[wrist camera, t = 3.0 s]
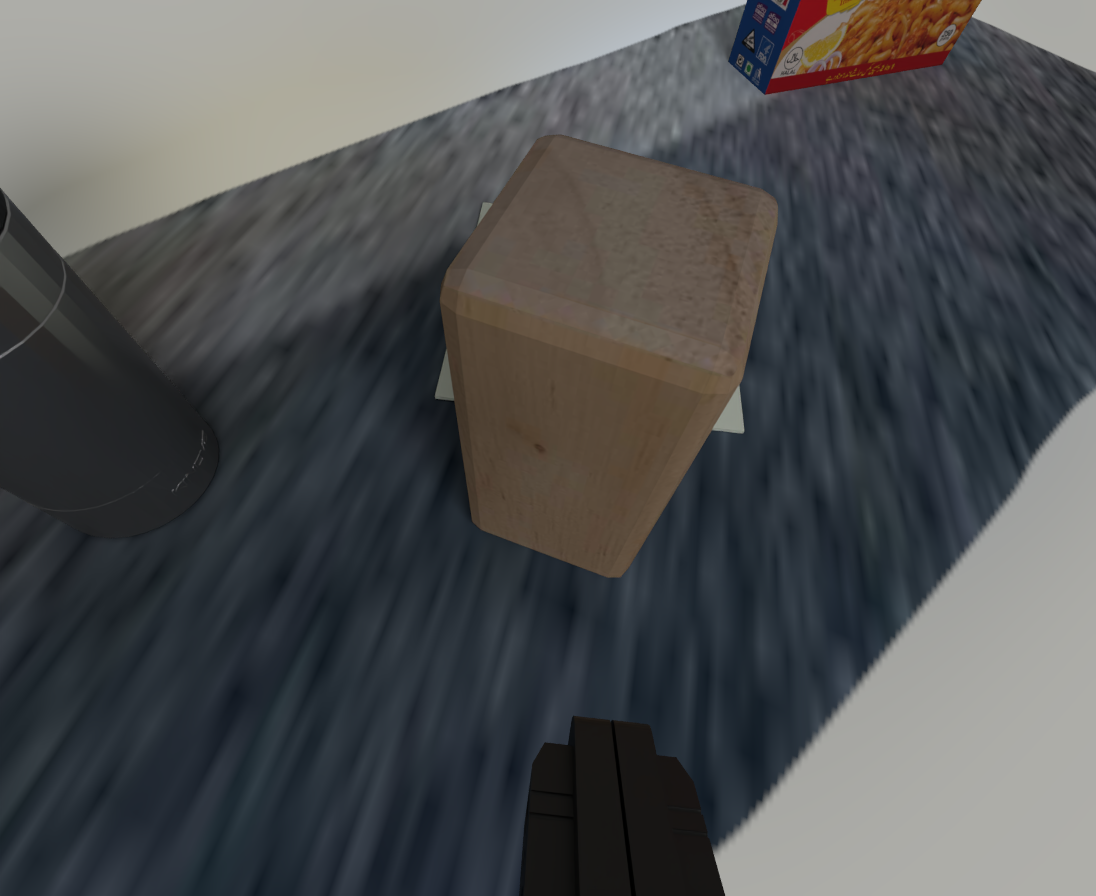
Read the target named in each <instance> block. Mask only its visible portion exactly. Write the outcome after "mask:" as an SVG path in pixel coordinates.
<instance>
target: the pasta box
mask: <svg viewBox="0 0 1096 896" xmlns="http://www.w3.org/2000/svg"><path fill="white" fill-rule="evenodd" d="M980 2H981V0H747V3H746V6H745V10H744V13H743V16H742V19H741V22H740V26H739V29H738V32H737V35H736V39H735V42H734V45H733V48H732V51H731V55H730V58H729V61H728V62H729V63H730V64H731V65H733V66H734V67H735V68H736V69H737V70H738V71H739V72H740V73H741V74H742V75H744V76H745V77H746V78H747V79H748V80H749V81H750V82H751V83H752V84H753V85H755V86H756V87H757V88H758V89H759V90H760V91H761V92H762V93H763V94H765V95H766V94H772V93H778V92H784V91H789V90H795V89H801V88H807V87H813V86H819V85H825V84H831V83H837V82H842V81H848V80H854V79H860V78H866V77H872V76H878V75H884V74H889V73H895V72H901V71H907V70H913V69H919V68H925V67H931V66H937V65H942V64H943V62H944V60H945V59H946V57H947V55H948V54H949V52H950V51H951V49H952V47H953V46H954V44H955V43H956V41H957V39H958V38H959V36H960V34H961V33H962V31H963V30H964V28H965V26H966V25H967V23H968V21H969V20H970V18H971V17H972V15H973V13H974V12H975V10H976V8H977V7H978V5H979V4H980Z"/></svg>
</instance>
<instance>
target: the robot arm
mask: <svg viewBox="0 0 1096 896" xmlns="http://www.w3.org/2000/svg"><path fill="white" fill-rule="evenodd" d="M218 456H219V448H218V443H217V439H216V437H215V435H214V433H213V431H212V429H211V428H210V427H209V426H208V424H207V423H206V422H205V421H204V420H203V419H202V418H201V416H200V415H199V414H198V413H197V412H196V411H195V410H194V408H193V407H192V406H191V405H190V404H189V403H188V402H187V400H186V399H185V398H184V397H183V396H182V395H181V393H180V392H179V391H178V390H177V388H176V387H175V386H174V385H173V384H172V383H171V382H170V381H169V379H168V378H167V377H166V376H165V375H164V374H163V373H162V371H161V370H160V369H159V368H158V367H157V366H156V365H155V363H154V362H153V361H152V360H151V359H150V358H149V357H148V355H147V354H146V353H145V352H144V351H143V350H142V349H141V347H140V346H139V345H138V344H137V343H136V342H135V341H134V339H133V338H132V337H131V336H130V335H129V334H128V333H127V331H126V330H125V329H124V328H123V327H122V326H121V325H120V323H119V322H118V321H117V320H116V319H115V318H114V317H113V316H112V314H111V313H110V312H109V311H108V310H107V309H106V308H105V306H104V305H103V304H102V303H101V302H100V301H99V300H98V298H97V297H96V296H95V295H94V294H93V293H92V292H91V290H90V289H89V288H88V287H87V286H86V285H85V284H84V282H83V281H82V280H81V279H80V278H79V277H78V276H77V274H76V273H75V272H74V271H73V270H72V269H71V268H70V266H69V265H68V264H67V263H66V262H65V261H64V260H63V258H62V257H61V256H60V255H59V254H58V253H57V252H56V251H55V250H54V249H53V248H52V246H51V245H50V244H49V243H48V242H47V241H46V240H45V238H44V237H43V236H42V235H41V234H40V233H39V232H38V231H37V229H36V228H35V227H34V226H33V225H32V224H31V222H30V221H29V220H28V219H27V218H26V217H25V216H24V215H23V213H22V212H21V211H20V210H19V209H18V208H17V207H16V206H15V204H14V203H13V202H12V201H11V200H10V199H9V198H8V196H7V195H6V194H5V193H4V192H3V191H2V189H1V188H0V487H1V488H3V489H5V490H7V491H8V492H10V493H12V494H14V495H16V496H17V497H19V498H21V499H23V500H24V501H26V502H28V503H29V504H31V505H33V506H35V507H36V508H38V509H40V510H42V511H44V512H46V513H47V514H49V515H51V516H53V517H55V518H56V519H58V520H60V521H62V522H64V523H66V524H67V525H69V526H71V527H73V528H75V529H77V530H78V531H81V532H83V533H86V534H89V535H92V536H96V537H104V538H120V537H130V536H134V535H138V534H142V533H146V532H148V531H151V530H153V529H155V528H158V527H160V526H163V525H165V524H166V523H168V522H170V521H171V520H173V519H175V518H176V517H178V516H180V515H181V514H182V513H183V512H184V511H186V510H187V509H188V508H189V507H190V506H192V505H193V504H194V503H195V502H196V501H197V499H198V498H199V497H200V496H201V495H202V494H203V493H204V491H205V490H206V488H207V487H208V485H209V483H210V482H211V480H212V478H213V476H214V473H215V470H216V467H217V465H218ZM519 896H725V893H724V890H723V886H722V883H721V879H720V875H719V872H718V868H717V865H716V861H715V857H714V854H713V850H712V847H711V843H710V839H709V838H708V837H707V829H706V825H705V822H704V818H703V815H701V807H700V804H699V800H698V796H697V793H696V789H695V786H694V782H693V781H692V779H691V778H690V776H689V775H688V773H687V772H686V771H685V769H684V768H683V766H682V765H681V764H680V762H679V761H678V759H677V758H676V757H668V756H659V755H657V754H656V750H655V745H654V740H653V736H652V731H651V728H650V726H649V725H648V724H640V723H632V722H623V721H615V720H612V721H611V722H610V720H604V719H596V718H587V717H578V716H573V717H572V722H571V728H570V734H569V741H568V745H562V744H554V743H544V745H543V746H542V748H541V750H540V752H539V753H538V755H537V757H536V758H535V760H534V762H533V764H532V771H531V779H530V787H529V794H528V802H527V809H526V817H525V825H524V837H523V850H522V864H521V877H520V891H519Z"/></svg>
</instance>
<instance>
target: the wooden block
mask: <svg viewBox="0 0 1096 896" xmlns="http://www.w3.org/2000/svg"><path fill="white" fill-rule="evenodd" d="M777 215H778V204H777V202H776V200H775V198H774V197H772V196H771V195H769V194H768V193H767V192H765V191H764V190H762V189H760V188H756V187H752V186H749V185H745V184H741V183H738V182H734V181H730V180H727V179H723V178H719V177H716V176H712V175H708V174H704V173H701V172H697V171H693V170H690V169H686V168H682V167H679V166H675V165H671V164H668V163H664V162H660V161H657V160H653V159H649V158H645V157H642V156H638V155H634V154H631V153H627V152H623V151H620V150H616V149H612V148H609V147H605V146H601V145H598V144H594V143H590V142H586V141H583V140H579V139H575V138H572V137H568V136H564V135H549V136H544V137H541V138H539V139H537V141H536V142H535V143H534V145H533V146H532V148H531V149H530V151H529V152H528V154H527V155H526V156H525V158H524V159H523V161H522V162H521V164H520V165H519V167H518V168H517V169H516V171H515V172H514V174H513V175H512V177H511V178H510V180H509V181H508V182H507V184H506V185H505V187H504V188H503V190H502V191H501V193H500V194H499V195H498V197H497V198H496V200H495V201H494V203H493V204H492V206H491V207H490V208H489V210H488V211H487V213H486V214H485V216H484V217H483V219H482V220H481V221H480V223H479V224H478V226H477V227H476V229H475V230H474V232H473V233H472V234H471V236H470V237H469V239H468V240H467V242H466V243H465V245H464V246H463V247H462V249H461V250H460V252H459V253H458V255H457V256H456V258H455V259H454V260H453V262H452V263H451V265H450V266H449V268H448V269H447V271H446V274H445V276H444V278H443V281H442V283H441V292H440V306H441V313H442V320H443V327H444V333H445V340H446V347H447V354H448V361H449V367H450V374H451V381H452V388H453V394H454V401H455V408H456V415H457V422H458V428H459V435H460V442H461V449H462V455H463V462H464V469H465V476H466V483H467V489H468V496H469V503H470V510H471V516H472V522H473V523H474V524H475V525H476V526H477V527H479V528H480V529H481V530H483V531H485V532H488V533H491V534H493V535H496V536H499V537H501V538H504V539H507V540H509V541H512V542H515V543H517V544H520V545H523V546H525V547H528V548H531V549H533V550H536V551H539V552H541V553H544V554H547V555H549V556H552V557H555V558H557V559H560V560H563V561H565V562H568V563H570V564H573V565H576V566H578V567H581V568H584V569H586V570H589V571H592V572H594V573H597V574H600V575H602V576H605V577H621V576H622V575H623V574H624V572H625V571H626V570H627V569H628V568H629V566H630V565H631V563H632V561H633V560H634V558H635V556H636V555H637V553H638V551H639V550H640V548H641V546H642V545H643V543H644V541H645V540H646V538H647V536H648V535H649V533H650V531H651V530H652V528H653V526H654V525H655V523H656V521H657V520H658V518H659V516H660V515H661V513H662V511H663V510H664V508H665V507H666V505H667V503H668V502H669V500H670V498H671V497H672V495H673V493H674V492H675V490H676V488H677V487H678V485H679V483H680V482H681V480H682V478H683V477H684V475H685V473H686V472H687V470H688V468H689V467H690V465H691V463H692V462H693V460H694V458H695V457H696V455H697V453H698V452H699V450H700V449H701V447H702V445H703V444H704V442H705V440H706V439H707V437H708V435H709V434H710V432H711V430H712V429H713V427H714V425H715V424H716V422H717V420H718V419H719V417H720V415H721V414H722V412H723V410H724V409H725V407H726V405H727V404H728V402H729V400H730V399H731V397H732V395H733V394H734V392H735V390H736V389H737V387H738V386H739V384H740V382H741V381H742V378H743V373H744V369H745V364H746V360H747V356H748V351H749V347H750V342H751V338H752V334H753V329H754V325H755V320H756V316H757V311H758V307H759V303H760V298H761V294H762V289H763V285H764V281H765V276H766V272H767V267H768V263H769V258H770V254H771V250H772V245H773V241H774V236H775V232H776V228H777Z"/></svg>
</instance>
